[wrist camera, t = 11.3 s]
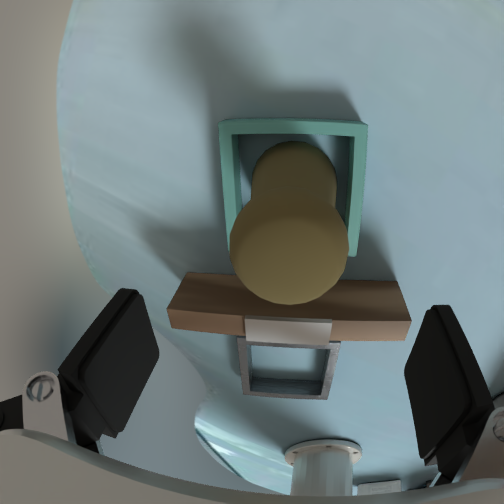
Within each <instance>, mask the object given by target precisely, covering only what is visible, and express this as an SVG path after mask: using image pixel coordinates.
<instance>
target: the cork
mask: <svg viewBox="0 0 504 504" xmlns="http://www.w3.org/2000/svg"><path fill="white" fill-rule="evenodd" d="M336 190H337V178H336V173H335V168H334V167H333V165H332V163H331V161H330V159H329V158H328V157H327V156H326V155H325V154H324V153H323V152H322V151H321V150H320V149H319V148H317V147H315V146H312V145H310V144H308V143H306V142H298V141H288V142H283V143H279V144H276V145H275V146H273V147H271V148H269V149H268V150H266V151H265V152H264V153H263V155H262V156H261V157H260V158H259V159H258V160H257V163H256V165H255V168H254V170H253V174H252V188H251V200H250V201H249V202H248V203H247V204H246V205H245V207H244V208H243V209H242V210H241V211H240V212H239V213H238V215H237V217H236V219H235V222H234V225H233V227H232V230H231V232H230V242H229V253H230V260H231V263H232V265H233V268H234V271H235V273H236V274H237V276H238V277H239V278H240V280H241V281H242V282H243V284H244V285H245V286H246V287H247V288H248V289H249V290H250V291H252V292H253V293H254V294H256V295H257V296H259V297H260V298H263V299H265V300H268V301H270V302H273V303H278V304H287V305H293V304H301V303H306V302H309V301H311V300H314V299H316V298H318V297H320V296H321V295H323V294H324V293H325V292H326V291H328V290H329V289H330V288H331V287H333V286H334V285H335V284H336V283H337V281H338V280H339V278H340V276H341V275H342V273H343V272H344V270H345V265H346V261H347V257H348V252H349V241H348V234H347V229H346V226H345V224H344V222H343V220H342V218H341V216H340V215H339V213H338V211H337V209H335V202H336Z"/></svg>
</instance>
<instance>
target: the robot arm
mask: <svg viewBox="0 0 504 504" xmlns="http://www.w3.org/2000/svg"><path fill="white" fill-rule="evenodd" d="M158 358H159V348H158V345H157V342H156V339H155V336H154V333H153V329H152V326H151V323H150V319H149V316H148V313H147V309H146V306H145V302H144V298H143V296H142V295H141V294H139V292H138V291H137V290H134V289H125V288H121V289H120V290H118V292H117V293H116V294H115V295H114V297H113V298H112V299H111V300H110V302H109V303H108V304H107V305H106V307H105V308H104V309H103V310H102V312H101V313H100V314H99V315H98V317H97V318H96V319H95V320H94V322H93V323H92V324H91V326H90V327H89V328H88V329H87V331H86V332H85V333H84V335H83V336H82V337H81V339H80V340H79V341H78V343H77V344H76V345H75V347H74V348H73V349H72V351H71V352H70V353H69V355H68V356H67V357H66V359H65V360H64V361H63V363H62V364H61V366H60V367H59V368H58V371H59V374H58V376H56V375H55V374H53V373H51V372H46V371H44V372H39V373H37V374H34V375H33V376H32V377H30V378H29V379H28V380H27V382H26V383H25V385H24V387H23V392H22V395H20V396H17V397H14V398H11V399H8V400H5V401H2V402H0V504H504V407H499V408H496V409H495V407H494V404H493V400H492V398H491V395H490V392H489V390H488V387H487V385H486V382H485V380H484V377H483V375H482V372H481V370H480V367H479V365H478V363H477V360H476V358H475V356H474V354H473V351H472V349H471V347H470V345H469V343H468V340H467V338H466V336H465V334H464V332H463V330H462V328H461V326H460V324H459V322H458V320H457V318H456V316H455V314H454V312H453V310H452V308H451V307H450V305H433V306H432V307H431V309H430V310H427V311H426V313H425V316H424V319H423V322H422V324H421V327H420V330H419V333H418V335H417V338H416V340H415V343H414V346H413V348H412V351H411V353H410V355H409V358H408V360H407V363H406V365H405V369H404V376H405V380H406V385H407V389H408V394H409V399H410V404H411V409H412V414H413V420H414V425H415V431H416V437H417V443H418V450H419V456H420V458H421V459H424V463H425V466H428V465H434V464H438V470H439V472H438V474H437V476H436V477H435V479H434V480H433V482H432V483H431V485H430V486H429V487H428V488H422V489H416V490H408V491H401V492H392V493H383V494H372V495H358V496H352V485H353V464H354V463H356V462H357V461H358V460H359V459H360V458H361V456H362V449H361V447H360V446H358V445H357V444H355V443H352V442H349V441H344V440H335V439H324V440H312V441H307V442H302V443H299V444H296V445H294V446H292V447H290V448H289V449H288V450H287V451H286V453H285V461H286V462H287V463H288V464H290V465H291V466H293V475H292V484H291V492H290V495H275V494H264V493H255V492H246V491H239V490H233V489H226V488H220V487H214V486H209V485H204V484H199V483H195V482H190V481H185V480H181V479H177V478H173V477H169V476H165V475H162V474H158V473H155V472H151V471H148V470H145V469H141V468H138V467H135V466H132V465H129V464H126V463H123V462H120V461H117V460H115V459H112V458H109V457H106V456H105V455H104V452H103V449H102V445H101V442H100V437H101V435H102V434H105V435H107V436H110V437H113V438H116V437H117V434H118V433H119V432H122V431H123V430H124V428H125V426H126V424H127V422H128V420H129V418H130V415H131V413H132V411H133V409H134V407H135V405H136V403H137V401H138V399H139V397H140V395H141V393H142V391H143V389H144V387H145V385H146V383H147V381H148V379H149V377H150V375H151V373H152V371H153V369H154V367H155V365H156V363H157V361H158Z"/></svg>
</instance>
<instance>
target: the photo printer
mask: <svg viewBox="0 0 504 504" xmlns="http://www.w3.org/2000/svg"><path fill="white" fill-rule="evenodd" d="M392 492H401V481H400V480H395V481H387V482H377V483H365V484H360V485H358V491H357V496H358V495H372V494H383V493H392Z"/></svg>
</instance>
